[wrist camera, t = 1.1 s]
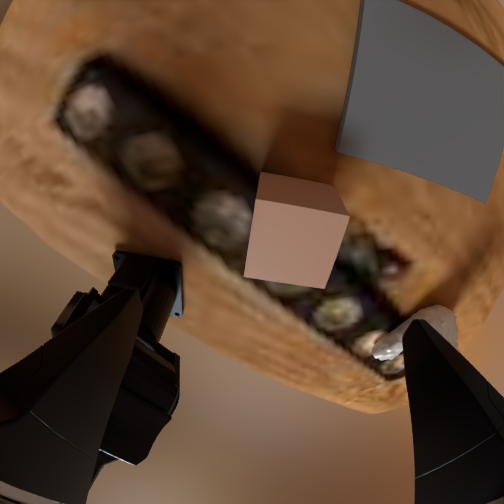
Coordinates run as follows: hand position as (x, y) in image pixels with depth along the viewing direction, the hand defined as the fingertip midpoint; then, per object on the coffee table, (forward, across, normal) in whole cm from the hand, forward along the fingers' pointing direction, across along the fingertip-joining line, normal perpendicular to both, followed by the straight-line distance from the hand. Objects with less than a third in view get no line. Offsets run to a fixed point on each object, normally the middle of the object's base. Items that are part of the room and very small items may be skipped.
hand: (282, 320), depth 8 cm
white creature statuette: (+12, -18, +12) cm, 25 cm away
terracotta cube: (+12, -1, +2) cm, 12 cm away
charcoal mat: (+12, -11, -9) cm, 18 cm away
